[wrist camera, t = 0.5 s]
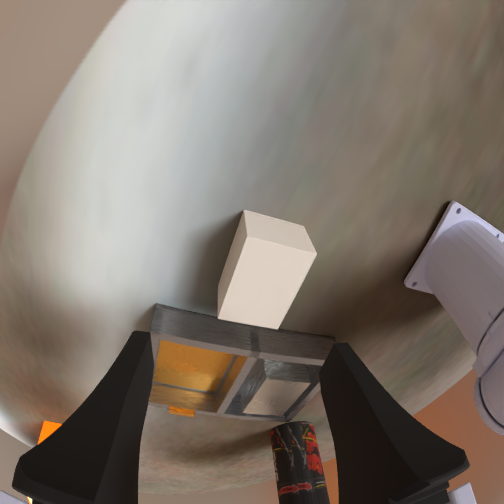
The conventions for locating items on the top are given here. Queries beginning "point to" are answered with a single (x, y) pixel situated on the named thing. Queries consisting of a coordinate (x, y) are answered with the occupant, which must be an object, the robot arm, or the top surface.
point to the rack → (232, 367)
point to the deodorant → (298, 464)
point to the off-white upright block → (263, 270)
